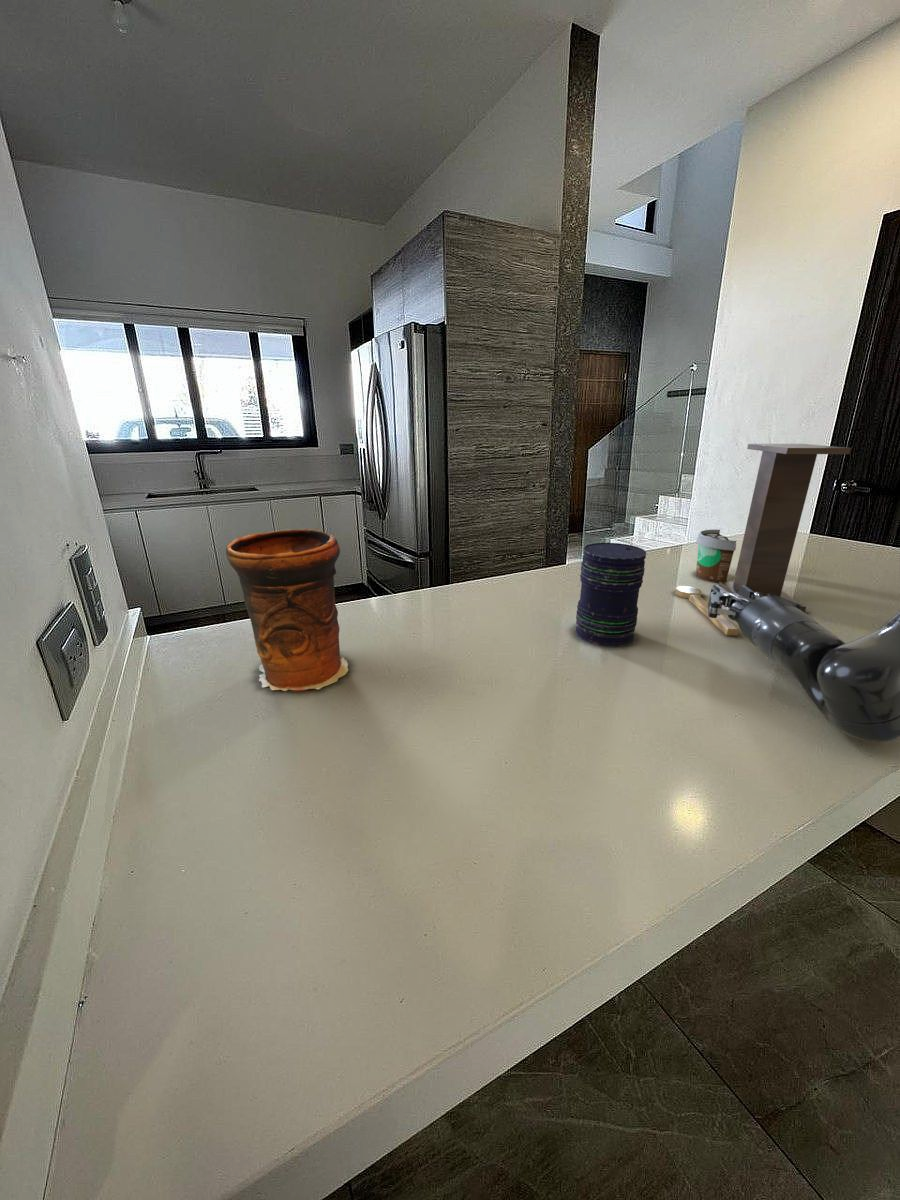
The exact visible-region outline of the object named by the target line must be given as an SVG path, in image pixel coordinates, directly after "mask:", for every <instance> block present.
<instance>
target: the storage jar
mask: <svg viewBox="0 0 900 1200" xmlns="http://www.w3.org/2000/svg"><path fill="white" fill-rule="evenodd" d="M582 554H583V555H582V559H581V560H582V561H581V562H580V563H581V564H580V565H581V566H580V575H579V577H580V579H579V581H580V582H581V583H580V584H581V586H580V594H579V600H578V601H577V606H576V608H577V609H576V613H575V619H576V621H575V623H576V626H575V630H574V631H575V635H576V636H577V638H579V640H582V641H584V642H586V643H589V644H591V645H595V646H600V647H611V648H614V647H615V648H616V647H624V646H627V645H630V644H631V643H632V642H633V641H634V638H635V633H634V632H635V631H636V626H637V623H638V613H639V607H638V601H639V595H640V589H641V587H642V585H643V582H644V580H643V578H644V576H645V565H646V558H647V551H646V550H645V549H643V548H641V547H639V546H636V545H632V544H626V543H619V542H596V543H595V542H594V543H589V544H586V545H585V546H584V547H583V551H582Z"/></svg>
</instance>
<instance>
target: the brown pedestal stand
mask: <svg viewBox="0 0 900 1200" xmlns="http://www.w3.org/2000/svg"><path fill="white" fill-rule="evenodd" d="M746 449H747V450H752V451H760V452H762V453H761V457H760V460H759V466H758V471H757V475H756V480H755V485H754V489H753V493H752V497H751V502H750V507H749V512H748V515H747V520H746V524H745V530H744V535H743V538H742V544H741V548H740V552H739V557H738V561H737V566H736V571H735V575H734V578H733V581H726V582H719V583H718V585H719V586H721V587H722V588H723V589H725V590H726V591H727V592H729V593H731V594H736V593H737V594H738V592H739V588H740V586H747V587H748V588H750V589H751V590H753V591H754V592H760V593H762V594H763V595H766V596H767V594H768V593H772V594H775V595H777V596H780V597H782V598H785V599H787V600H790V601H793V602H795V603H798V604H800V605H802V608H801V611H803V612H804V613H806V609H807V606H806V605H804V604H803V603H801V602H799V601H798V600H797V599H795V598H793V597H791V596H790V595H788V594H787V593H786V592H783V587H784V584H785V580H786V576H787V573H788V569H789V565H790V560H791V557H792V554H793V549H794V545H795V542H796V538H797V534H798V530H799V527H800V522H801V520H802V519H801V518H802V516H803V515H802V514H803V512H804V511H803V510H804V506H805V502H806V501H807V500H806V499H807V495H808V491H809V488H810V484H811V479H812V475H813V473H814V468H815V466H816V465H815V464H816V461H817V457H818V455H850V454H851V451H852V448H851V447H843V446H831V445H821V444H811V443H810V444H809V443H747V447H746Z"/></svg>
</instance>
